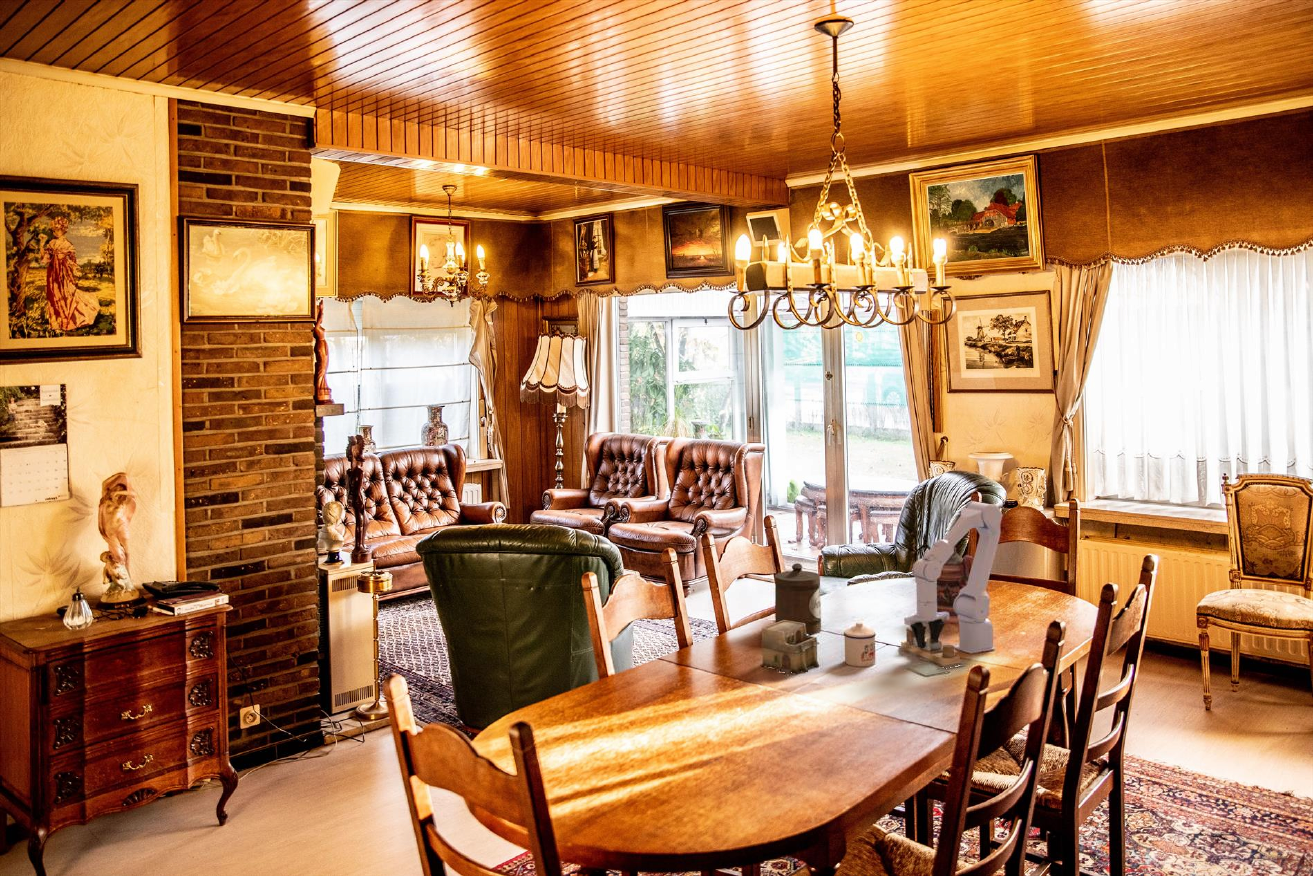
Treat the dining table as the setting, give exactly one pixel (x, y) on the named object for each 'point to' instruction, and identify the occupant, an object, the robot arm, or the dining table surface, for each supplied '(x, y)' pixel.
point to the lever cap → (929, 644)
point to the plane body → (931, 653)
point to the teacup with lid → (859, 646)
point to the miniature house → (788, 647)
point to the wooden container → (798, 598)
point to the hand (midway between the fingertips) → (927, 646)
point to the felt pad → (926, 669)
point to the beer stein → (952, 584)
